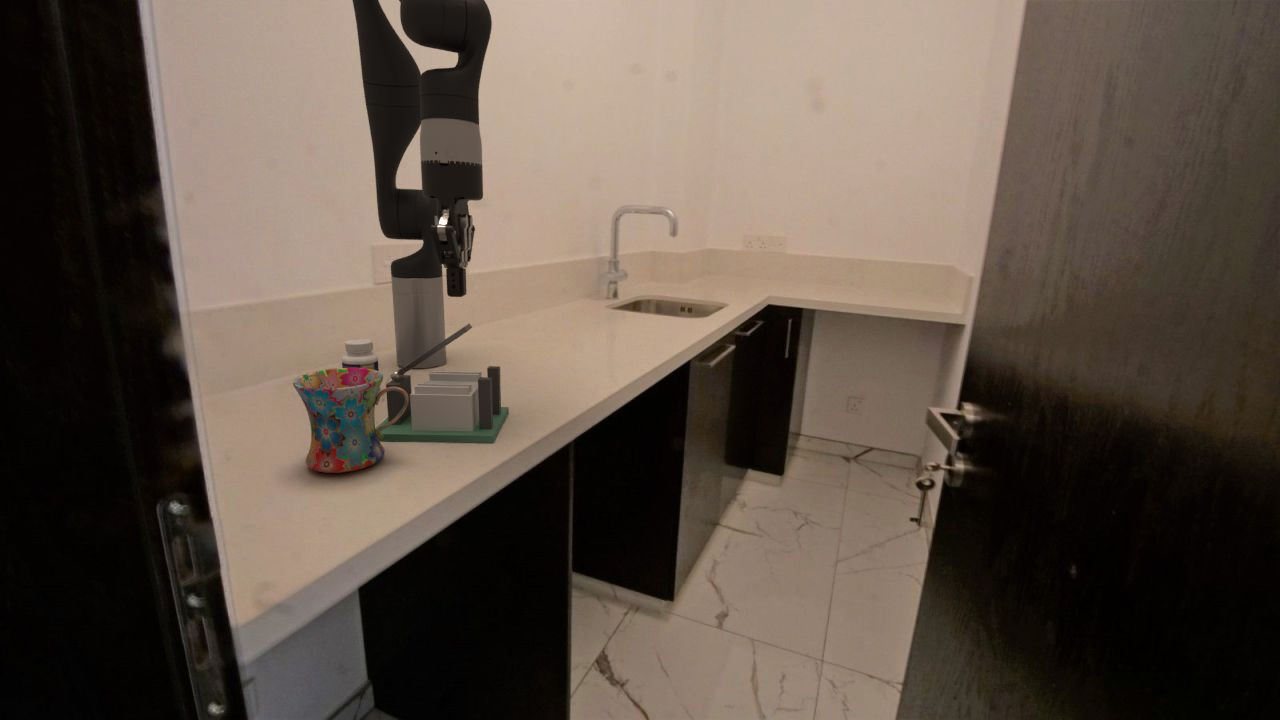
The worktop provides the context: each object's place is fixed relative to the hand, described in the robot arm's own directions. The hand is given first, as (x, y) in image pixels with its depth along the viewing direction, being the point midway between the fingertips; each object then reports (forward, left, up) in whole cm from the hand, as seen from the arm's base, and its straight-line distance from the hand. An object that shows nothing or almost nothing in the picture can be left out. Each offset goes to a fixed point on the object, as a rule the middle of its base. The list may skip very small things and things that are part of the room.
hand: (456, 296), depth 79 cm
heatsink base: (0, -3, -19) cm, 19 cm away
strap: (0, -4, -8) cm, 9 cm away
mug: (+13, -9, -19) cm, 24 cm away
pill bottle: (-14, -20, -19) cm, 31 cm away
